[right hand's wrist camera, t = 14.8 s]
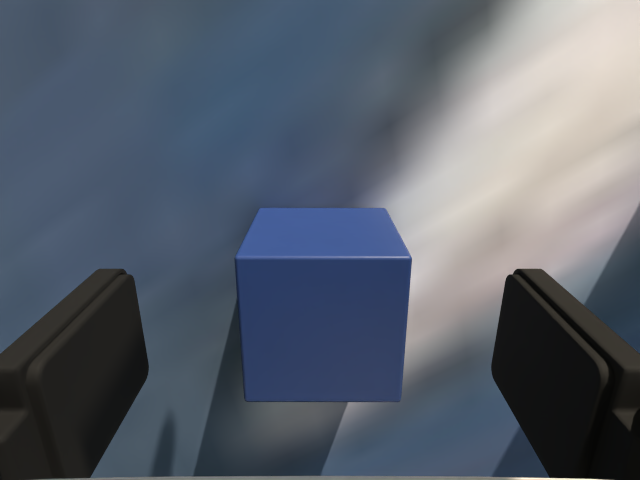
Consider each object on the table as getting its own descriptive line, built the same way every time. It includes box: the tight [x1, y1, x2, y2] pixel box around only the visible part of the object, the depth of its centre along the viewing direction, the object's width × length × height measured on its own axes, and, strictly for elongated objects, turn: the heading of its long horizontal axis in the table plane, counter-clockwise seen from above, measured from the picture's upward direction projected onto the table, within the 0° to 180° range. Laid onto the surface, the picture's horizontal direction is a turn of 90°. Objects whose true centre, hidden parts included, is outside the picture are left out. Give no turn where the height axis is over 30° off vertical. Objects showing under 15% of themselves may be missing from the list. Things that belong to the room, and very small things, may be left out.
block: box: [235, 208, 412, 402], centre depth 13 cm, size 4×4×4 cm
